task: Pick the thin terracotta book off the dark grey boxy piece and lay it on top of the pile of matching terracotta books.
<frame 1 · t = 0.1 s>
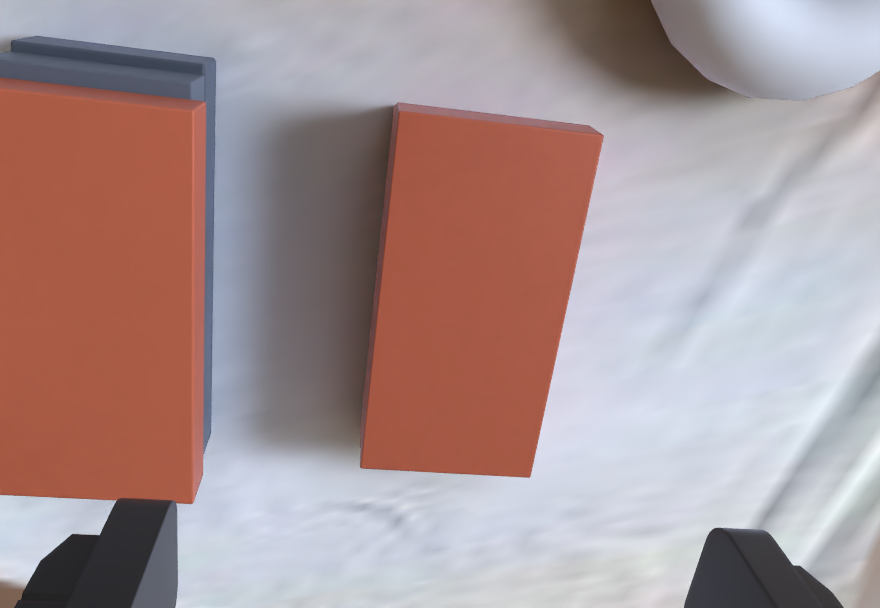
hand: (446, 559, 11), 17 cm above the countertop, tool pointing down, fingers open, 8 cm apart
terracotta books: (459, 287, 27), on the countertop
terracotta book: (99, 298, 23), point 4 cm above the countertop, touching dark grey boxy piece
dark grey boxy piece: (133, 258, 26), on the countertop, touching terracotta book
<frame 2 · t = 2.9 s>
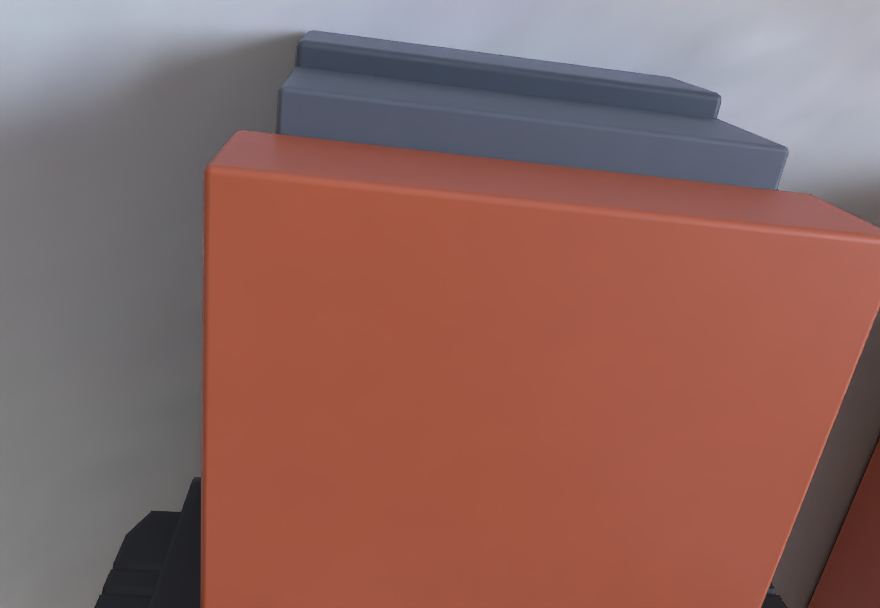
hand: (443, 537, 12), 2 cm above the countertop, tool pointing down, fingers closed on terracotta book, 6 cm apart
dark grey boxy piece: (434, 457, 13), on the countertop, touching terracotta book
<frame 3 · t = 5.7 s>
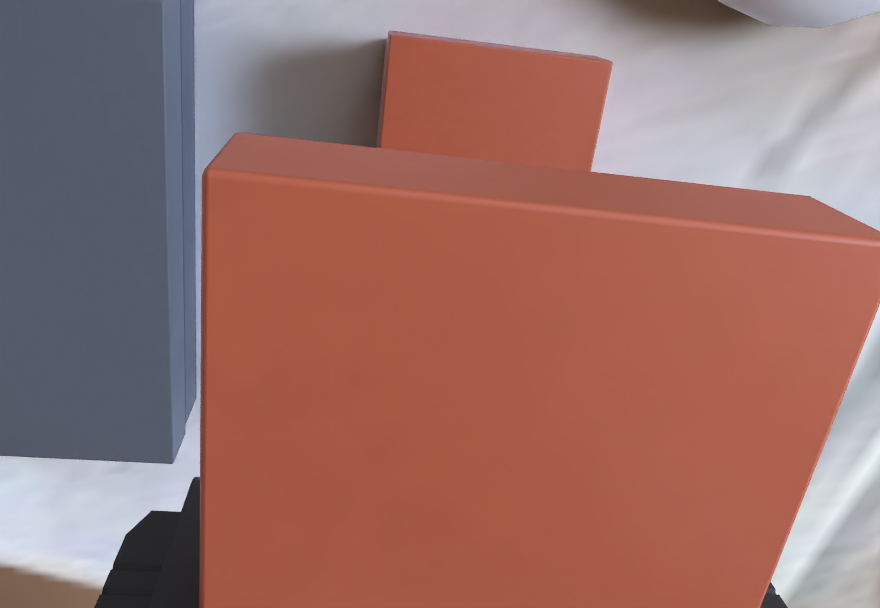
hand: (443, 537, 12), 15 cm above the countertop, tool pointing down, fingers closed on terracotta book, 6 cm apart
terracotta books: (459, 239, 26), on the countertop
dark grey boxy piece: (109, 207, 24), on the countertop
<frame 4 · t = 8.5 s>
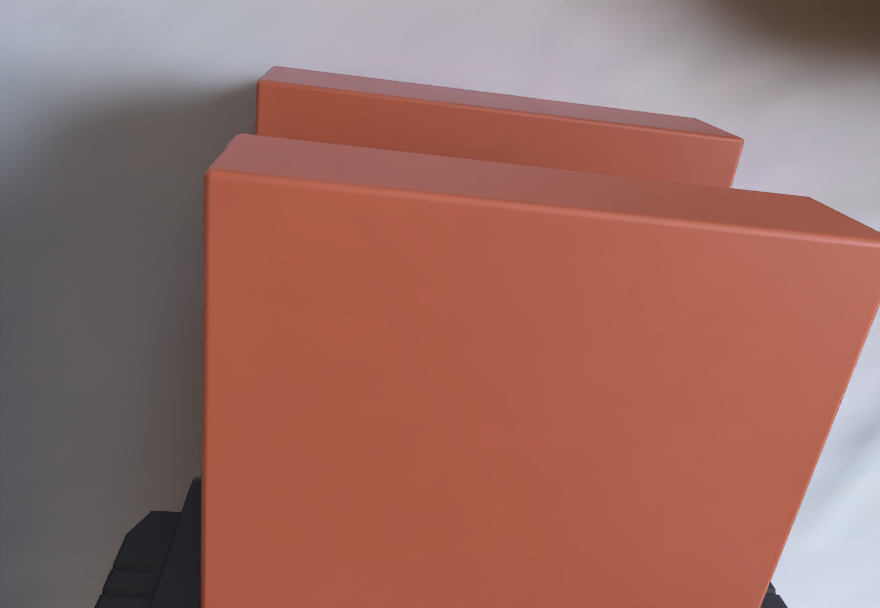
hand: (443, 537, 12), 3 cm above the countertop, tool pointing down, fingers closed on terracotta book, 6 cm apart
terracotta books: (427, 422, 15), on the countertop
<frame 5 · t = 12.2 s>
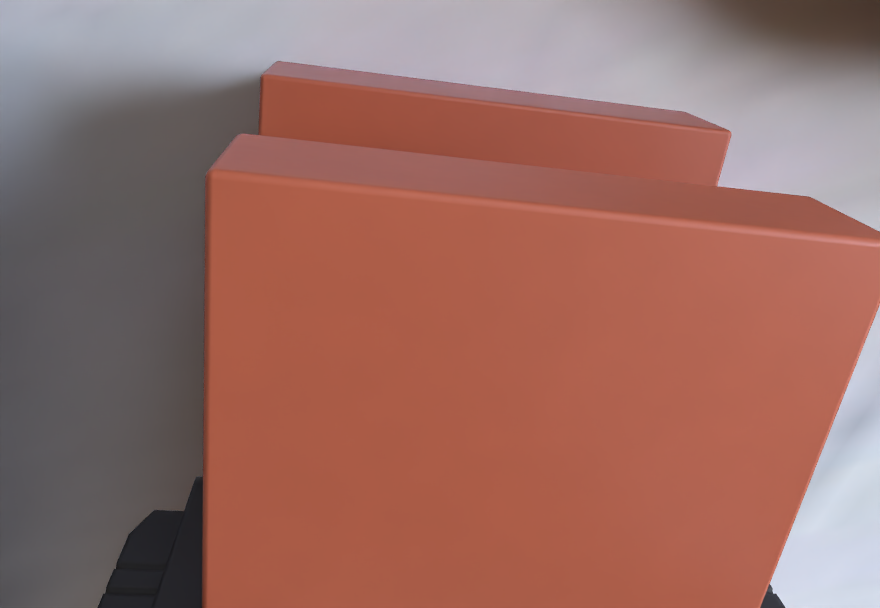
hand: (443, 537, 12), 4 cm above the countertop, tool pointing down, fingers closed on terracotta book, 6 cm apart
terracotta books: (426, 410, 15), on the countertop
when the fingers open (4 cm above the countertop, at t = 15.2 s): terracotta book drops 2 cm, resting on terracotta books.
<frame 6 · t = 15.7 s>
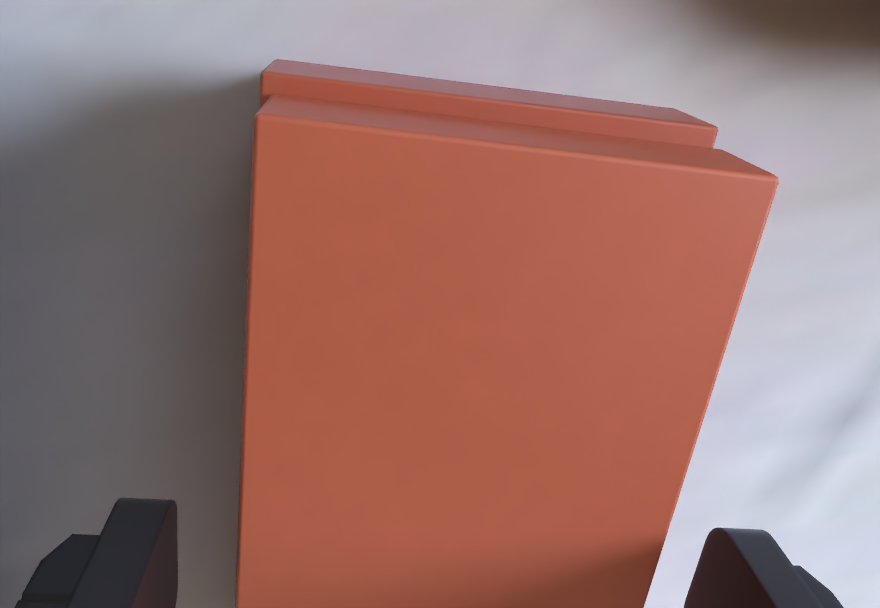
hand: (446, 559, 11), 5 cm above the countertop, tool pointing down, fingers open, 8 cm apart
terracotta books: (423, 402, 15), on the countertop, touching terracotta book
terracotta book: (442, 501, 12), point 3 cm above the countertop, touching terracotta books
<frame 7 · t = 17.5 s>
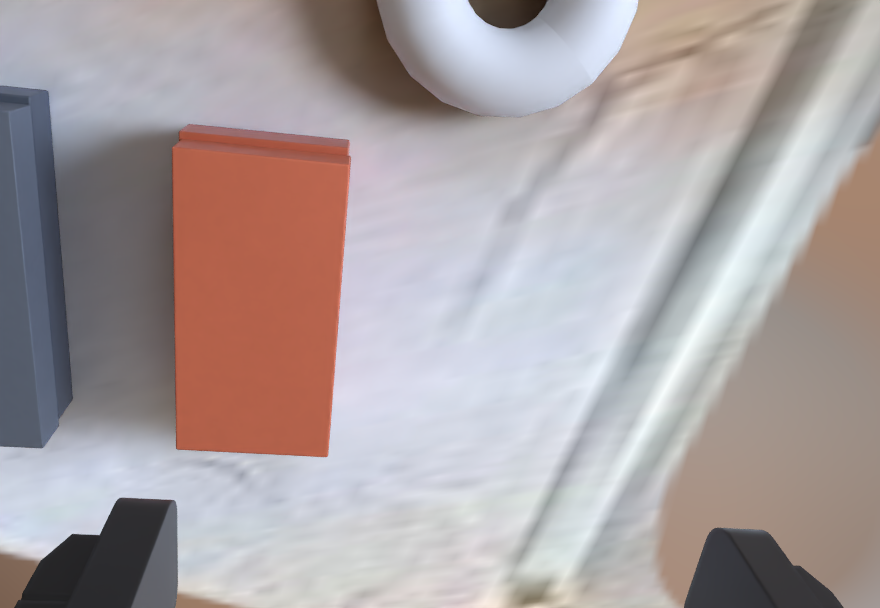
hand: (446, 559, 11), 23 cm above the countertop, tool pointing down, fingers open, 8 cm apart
terracotta books: (269, 274, 33), on the countertop, touching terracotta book
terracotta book: (262, 301, 30), point 3 cm above the countertop, touching terracotta books
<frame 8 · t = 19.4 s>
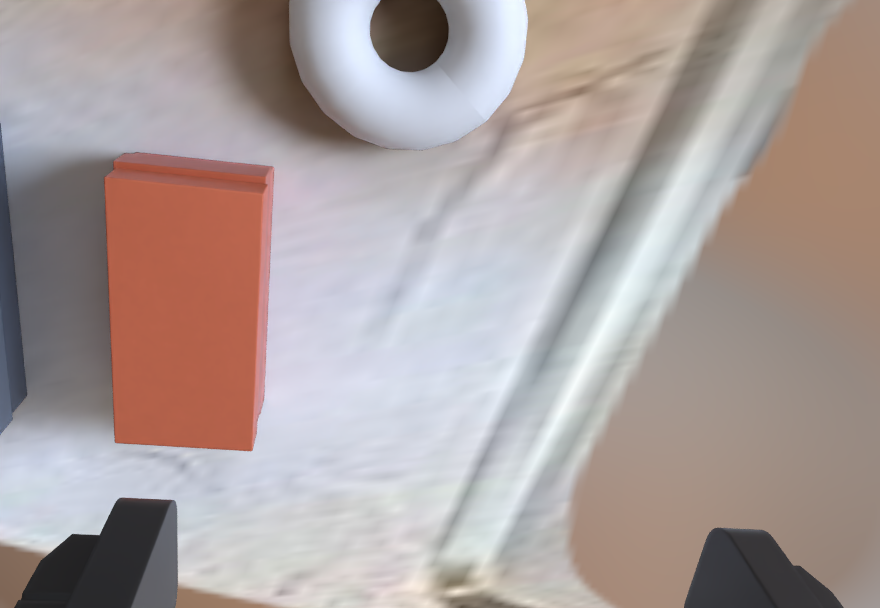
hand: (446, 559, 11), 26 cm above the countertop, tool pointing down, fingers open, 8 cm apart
donut: (407, 28, 33), on the countertop
terracotta books: (204, 285, 37), on the countertop, touching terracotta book
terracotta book: (192, 311, 34), point 3 cm above the countertop, touching terracotta books
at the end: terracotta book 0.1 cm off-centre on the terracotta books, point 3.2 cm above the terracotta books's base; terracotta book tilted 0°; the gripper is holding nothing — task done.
